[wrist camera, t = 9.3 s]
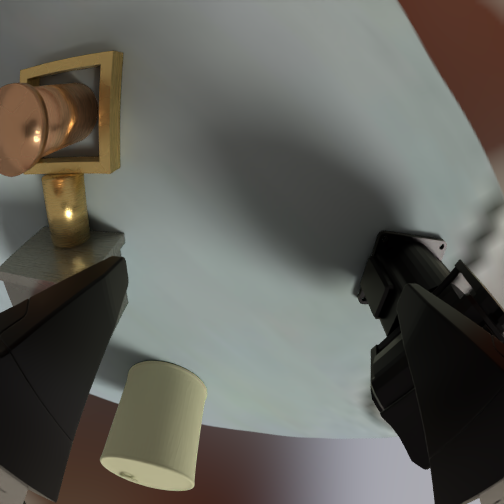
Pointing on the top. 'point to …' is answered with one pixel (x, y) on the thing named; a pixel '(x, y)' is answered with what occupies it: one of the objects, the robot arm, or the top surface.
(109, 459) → the can
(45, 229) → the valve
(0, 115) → the stub
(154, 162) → the top surface
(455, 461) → the robot arm
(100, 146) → the socket
